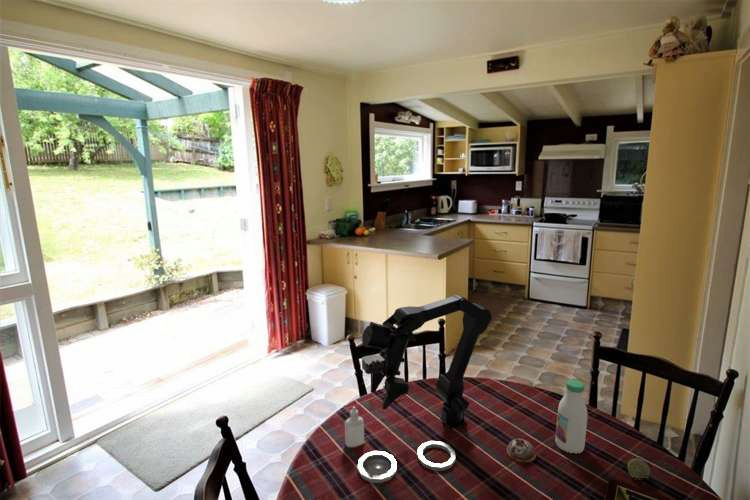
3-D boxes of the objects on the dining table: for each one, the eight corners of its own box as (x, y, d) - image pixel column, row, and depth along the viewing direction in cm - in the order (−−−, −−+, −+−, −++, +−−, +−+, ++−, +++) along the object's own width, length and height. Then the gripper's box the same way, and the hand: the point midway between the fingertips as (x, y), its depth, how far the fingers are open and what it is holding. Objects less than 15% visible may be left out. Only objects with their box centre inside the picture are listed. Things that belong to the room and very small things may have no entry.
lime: (651, 480, 104) (654, 464, 103) (637, 485, 102) (639, 468, 101) (636, 468, 108) (638, 452, 107) (622, 472, 107) (624, 456, 106)
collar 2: (441, 440, 120) (442, 437, 120) (462, 463, 110) (462, 459, 110) (411, 450, 116) (411, 447, 115) (430, 475, 106) (430, 471, 106)
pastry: (505, 459, 112) (506, 443, 111) (507, 442, 119) (508, 427, 118) (536, 466, 109) (537, 450, 108) (536, 448, 116) (537, 433, 115)
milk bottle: (583, 441, 119) (589, 379, 115) (584, 457, 112) (591, 393, 108) (555, 434, 122) (560, 374, 118) (554, 450, 115) (560, 386, 111)
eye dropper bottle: (362, 449, 117) (362, 412, 114) (344, 447, 117) (342, 410, 115) (365, 439, 121) (364, 403, 118) (347, 437, 122) (346, 402, 119)
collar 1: (386, 450, 116) (386, 447, 116) (403, 475, 106) (403, 471, 106) (352, 461, 112) (352, 457, 112) (367, 487, 102) (366, 483, 102)
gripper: (359, 334, 122) (343, 381, 123) (382, 360, 105) (364, 415, 106) (390, 340, 126) (375, 386, 127) (418, 366, 109) (400, 419, 110)
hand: (377, 400), depth 117 cm, fingers open, 9 cm apart
